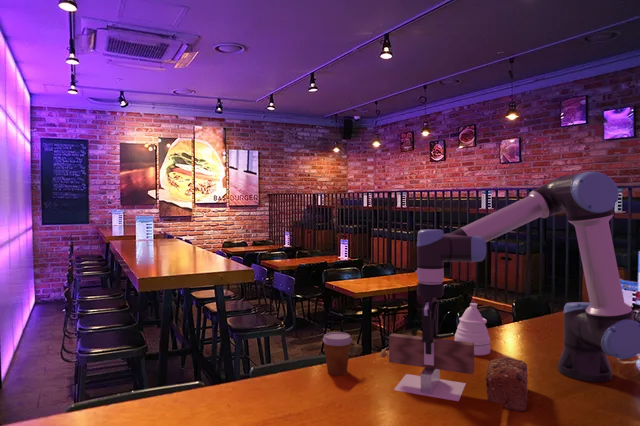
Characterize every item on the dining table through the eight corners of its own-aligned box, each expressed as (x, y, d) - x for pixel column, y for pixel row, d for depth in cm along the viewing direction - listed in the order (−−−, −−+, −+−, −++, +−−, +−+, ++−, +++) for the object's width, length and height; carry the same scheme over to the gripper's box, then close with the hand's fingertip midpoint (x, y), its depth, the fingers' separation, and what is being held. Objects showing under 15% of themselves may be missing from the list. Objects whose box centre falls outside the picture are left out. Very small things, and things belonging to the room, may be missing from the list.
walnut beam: (474, 370, 127) (474, 342, 127) (472, 374, 124) (472, 345, 124) (392, 359, 137) (391, 333, 137) (389, 362, 134) (388, 335, 134)
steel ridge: (439, 380, 135) (439, 362, 135) (431, 394, 124) (431, 375, 124) (429, 378, 136) (429, 360, 136) (420, 393, 126) (420, 373, 126)
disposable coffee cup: (355, 369, 149) (355, 333, 149) (345, 379, 140) (345, 341, 140) (329, 365, 153) (329, 330, 153) (317, 374, 144) (317, 337, 144)
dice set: (391, 360, 160) (391, 354, 160) (378, 358, 163) (378, 352, 163) (395, 356, 165) (395, 351, 165) (382, 354, 167) (382, 349, 167)
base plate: (465, 388, 133) (465, 383, 133) (458, 406, 120) (458, 401, 120) (406, 378, 141) (406, 373, 141) (393, 395, 128) (393, 389, 128)
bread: (527, 414, 116) (527, 375, 116) (484, 406, 121) (484, 369, 121) (527, 388, 133) (527, 355, 133) (489, 383, 137) (489, 350, 137)
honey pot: (495, 355, 164) (495, 306, 164) (460, 355, 164) (460, 306, 164) (483, 345, 176) (483, 299, 176) (450, 344, 177) (450, 299, 177)
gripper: (423, 277, 139) (423, 353, 139) (410, 285, 125) (410, 369, 125) (448, 279, 136) (448, 356, 136) (437, 287, 122) (438, 373, 122)
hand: (430, 362), depth 130 cm, fingers closed on walnut beam, 3 cm apart
